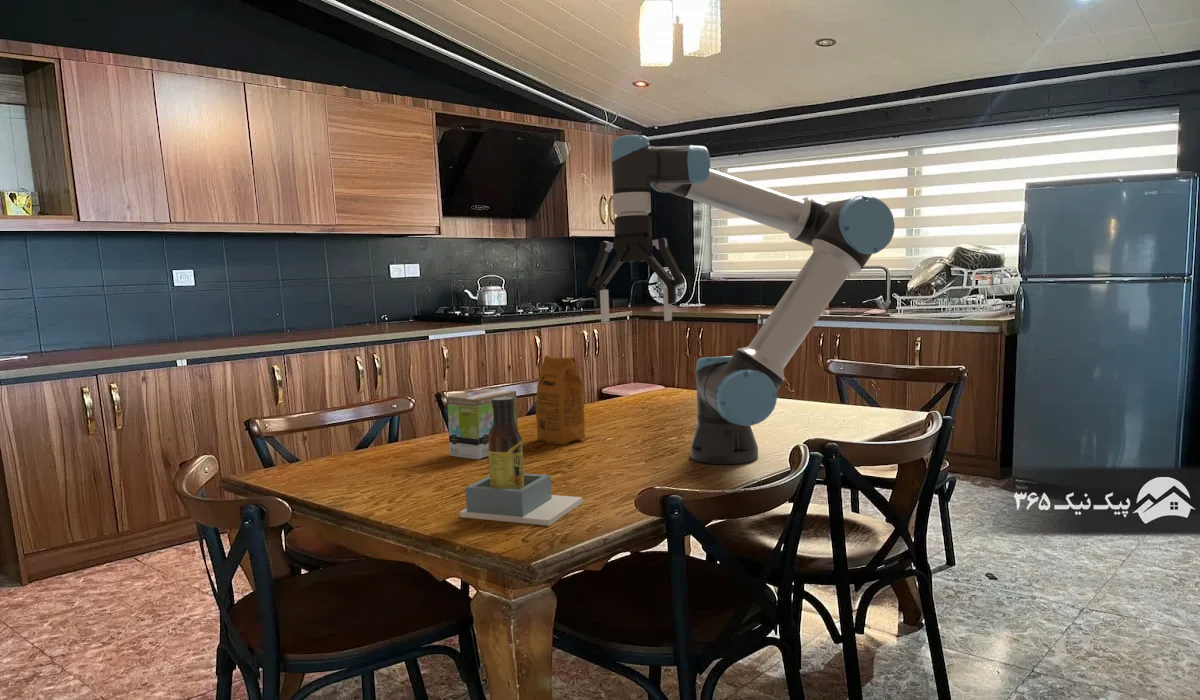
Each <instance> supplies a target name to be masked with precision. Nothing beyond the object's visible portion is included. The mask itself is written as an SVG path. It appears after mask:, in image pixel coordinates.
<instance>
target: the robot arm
mask: <svg viewBox="0 0 1200 700" xmlns="http://www.w3.org/2000/svg"><path fill="white" fill-rule="evenodd" d="M610 163H611V178H612V199H613V201H612V202H613V203H612V204H613V205H612V206H613V214H614V215H616V217H614V219H613V226H614V228H613V229H614V230H613V231H614V233H613V234H614V240H613V242H610V241H608V240H607V241H606V240H601V241H600V243H599V252H598V255H597V257H596V260H595V262H594V264H593V267H592V269H591V271H590V274H589V276H588V278H587V282H586V286H587V287H588V288H592V289H594V290H595V298H596V300H595V301H596V305H597V306H600V321H601V323H605V322H610V302H609V299H610V297H609V296H610V295H609V289H606V287H607V285H608V284H609V282H610V281H611V280H612V278H613V277H614V276H615V275H616V273H617V271H618V270H619V269H620V267H621V266H622V265H623V264H624V263H634V262H637V263H639V262H645V264H647V265H648V266H649V267H650V269H651V270H652V271H653V273H655V274H656V275H657V276H658V278H659V279H660V280H661V281H662V282H663V283H664V284H665V286H666V287H664V288H663V289H662V291H663V295H662V296H663V321H664V322H669V321H673V309H672V308H673V307H672V305H673V304H676V301H677V293H676V292H677V290H676V288H677V287H678V286H679V285H682V284H684V283H685V282H686V281H685V278H684V276H683V274H682V272H681V270H680V268H679V266H678V264H677V263H676V261H675V258H674V257H673V254H672V252H671V251H670V248H669V242H668V238H666V237H660V238H658V239H654V238H653V230H652V228H653V227H652V225H653V224H652V217H651V215H649V214H650V213H651V212H652V205H651V204H652V202H651V201H652V200H651V199H652V198H651V188H652V189H653V190H655V191H656V192H659V193H664V194H666V193H667V194H669V193H670V194H673V195H676V196H679V197H682V198H686V199H689V200H692V201H695V202H698V203H700V204H704V205H706V206H708V207H709V206H710V207H713V208H714V209H715V208H716V209H717V210H721V211H723V212H727V213H730V214H733V215H736V216H738V217H742V218H744V219H747V220H751V221H754V222H756V223H759V224H761V225H765V226H768V227H770V228H773V229H776V230H780V231H782V232H786V233H787V234H788V236H789V238H790V240H791V239H792V240H794V241H797V242H800V243H802V244H805V245H807V246H810V247H812V250H813V251H812V253H811V255H810V256H809V258H808V259H807V261H805V263H804V265H803V267H802V268H801V270H800V271H799V273H797V275H796V277H795V278H794V280H793V281H792V283H791V284H790V286H789V287H788V288H787V290H786V291H785V292H784V294H783V295H782V296H781V299H780V300H779V301H778V303H777V304H776V306H775V307H774V308H773V310H772V311H771V313H770V314H769V315H768V317H767V318H766V320H765V321H764V323H763V324H762V326H761V327H760V329H759V330H758V331H757V333H756V335H755V336H754V337H753V339H752V340H751V342H750V344H749V345H748V346H745V347H739V348H737V350H736V351H735V352H734V354H733V355H727V356H725V355H723V356H710V357H699V358H698V359H697V360H696V364H695V372H694V373H695V377H696V379H695V381H696V382H695V383H696V384H695V385H696V411H697V414H696V416H697V424H696V429H695V432H694V436H693V439H692V442H691V445H690V458H691V460H693V461H695V462H699V463H704V464H712V465H737V464H745V463H751V462H753V461H756V460H758V458H759V446H758V444H757V440H756V437H755V434H754V432H753V429H752V426H754V425H757V424H760V423H762V422H764V421H765V420H767V419H768V417H769V416H770V415H771V414H772V413H773V411H774V410H775V407H776V405H777V400H778V396H777V395H778V394H777V392H778V391H779V389H780V388H781V386H782V385H783V383H784V382H785V381H786V380H785V379H786V378H785V374H784V373H785V372H784V369H785V367H786V366H788V365H787V364H788V363H789V362H790V360H791V358H792V357H793V356H794V355H795V353H796V351H797V350H798V348H800V346H801V344H802V343H803V342H804V340H805V339H806V337H807V335H808V334H809V332H810V331H811V330H812V328H813V327H814V325H816V323H817V321H819V318H820V317H821V316H822V314H823V313H824V311H825V310H826V308H827V307H828V305H829V304H830V302H831V301H832V300H833V299H834V297H835V295H836V294H837V292H838V291H839V290H840V289H841V287H842V285H843V284H844V283H845V281H846V280H847V278H848V277H849V275H851V274H856V273H860V272H861V271H862V270H863V269H864V266H865V265H866V264H867V262H868V261H869V259H870V258H871V257H872V255H875V254H877V253H879V252H881V251H883V250H884V249H885V248H886V247H887V246H888V245H889V244H890V243H891V241H892V240H893V237H894V234H895V226H896V225H895V221H894V220H895V219H894V215H893V213H892V211H891V208H889V206H888V205H887V204H886V203H885V202H884V201H882V200H881V199H879V198H877V197H875V196H870V195H855V196H852V197H850V198H847V199H843V200H838V201H823V200H817V199H813V198H810V197H807V196H806V197H804V198H801V199H799V198H796V197H792V196H790V195H787V194H783V193H782V192H778V191H775V190H773V189H770V188H767V187H764V186H761V185H758V184H756V183H753V182H749V181H746V180H744V179H740V178H738V177H735V176H732V175H730V174H727V173H724V172H721V171H718V170H715V169H712V168H711V157H710V152H709V150H708V148H707V147H706V146H704V145H693V144H689V145H673V146H672V145H671V146H670V145H669V146H666V145H665V146H654V145H650V140H649V137H647V136H646V135H641V134H640V135H639V134H638V135H637V134H629V135H628V134H627V135H622V136H618V137H616V138H614V140H613V141H612V143H611V161H610ZM654 247H655V248H656V250H659V253H660V255H661V257H662V259H663V260H664V263H665V264H666V266H667V268H668V271H669V272H670V274H671V275H670V274H669V272H667V271H666V270H665V268H664V267H663V266H662V265H661V264H660V263H659V262H658V260H657V259H656V257H655V256H654V254H653V253H652V250H653V248H654ZM613 249H614V251H615V252H616V254H615V256H614V257H613V258H612V261H611V263H610V264H609V266H607V269H606V270H605V271H604V272H603V270H604V267H605V265H606V262H607V260H608V258H609V256H610V255H609V254H610V253H611V252H612V251H613ZM602 272H603V274H602ZM601 274H602V275H601Z"/></svg>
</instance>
